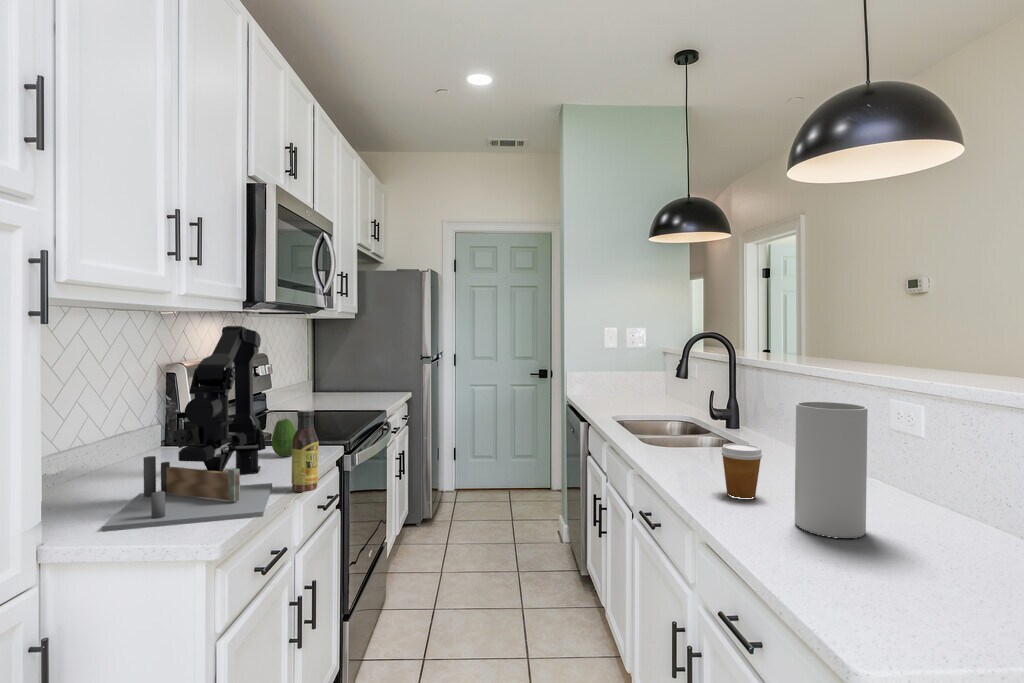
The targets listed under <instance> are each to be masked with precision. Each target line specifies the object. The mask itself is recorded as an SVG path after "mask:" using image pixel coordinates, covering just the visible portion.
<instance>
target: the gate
mask: <svg viewBox="0 0 1024 683" xmlns="http://www.w3.org/2000/svg"><path fill="white" fill-rule="evenodd" d="M170 462H171V461H163V462H160V491H164V492H165V493H168V494H177V495H185V496H193V497H202V498H210V499H219V500H227V501H233V502H235V501H237V500H240V485H241V484H240V477H241V474H240V469H236V467H235V468H230V469H228V470H227V471H228V472H227V471H223V472H220V471H209V470H207V469H198V468H187V467H179V466H171V463H170Z"/></svg>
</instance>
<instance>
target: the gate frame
mask: <svg viewBox="0 0 1024 683" xmlns="http://www.w3.org/2000/svg"><path fill="white" fill-rule="evenodd" d="M156 458H157V456H156V455H155V456H154V455H149V456H144V457H143V492H139V494H137V495H136V496H135V497H134V498H133V499H132V500H130V501H129V502H128V503H127V504H126V505H125V506H124V507H123V508H121V509H120V510H119V511H118V512H117V513H116V514H114V516H112V517H111V518H110V519H109V520H108V521H107V522H106V523H104V525H102V532H110V531H122V530H132V529H134V530H135V529H142V528H143V529H144V528H153V527H162V526H163V527H164V526H175V525H183V524H184V525H185V524H187V525H188V524H197V523H209V522H218V521H226V520H227V521H229V520H236V519H237V520H238V519H240V520H241V519H249V518H258V517H264V514H265V511H266V508H267V504H268V503H269V499H270V496H271V491H272V489H273V483H272V482H266V483H256V484H255V483H253V484H242V485H241V484H240V500H237V501H235V502H233V501H227V500H219V499H210V498H202V497H193V496H185V495H177V494H168V493H165V492H164V491H161V490H159V491H157V469H156V468H157V467H156V466H157V462H156V461H157V459H156Z"/></svg>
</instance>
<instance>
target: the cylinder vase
mask: <svg viewBox="0 0 1024 683" xmlns="http://www.w3.org/2000/svg"><path fill="white" fill-rule="evenodd" d="M868 412H869V411H868V407H867V406H864V405H860V404H852V403H845V402H834V401H833V402H831V401H829V402H828V401H801V402H796V403H795V449H794V450H795V456H794V457H795V461H794V462H795V464H794V465H795V466H794V467H795V468H794V475H795V476H794V478H795V479H794V523H795V524H796V526H797V527H798V526H799V527H798V528H800V529H801V528H802V529H801V530H803V529H804V530H803V531H805V530H806V531H805V532H807V531H809V532H812V533H815V534H819V535H824V536H830V537H837V538H854V539H858V537H859V538H861V537H863V536H864V535H865V534H866V532H867V481H868V480H867V479H868V477H867V476H868V475H867V474H868V473H867V471H868V470H867V468H868V467H867V466H868V464H867V463H868V460H867V459H868ZM809 532H808V533H809ZM812 533H811V534H812ZM815 534H814V535H815ZM819 535H818V536H819Z"/></svg>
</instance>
